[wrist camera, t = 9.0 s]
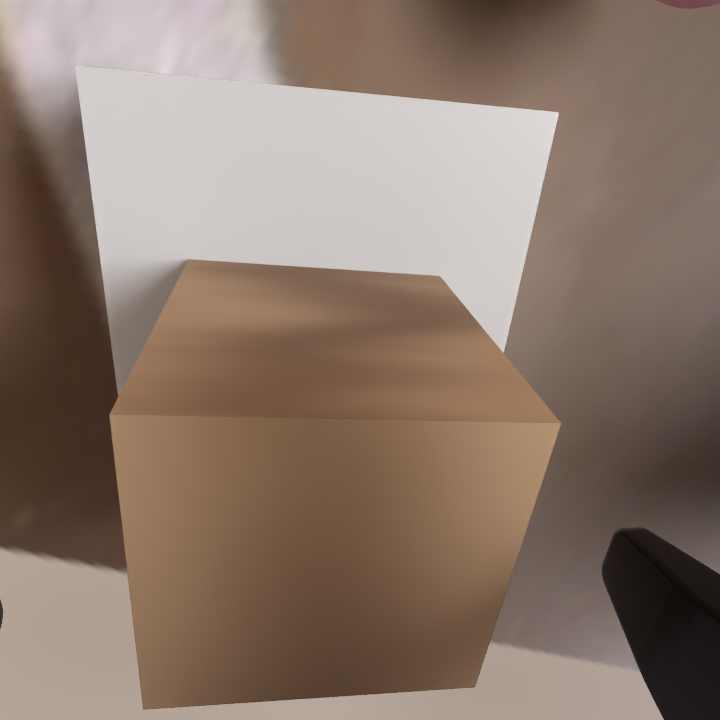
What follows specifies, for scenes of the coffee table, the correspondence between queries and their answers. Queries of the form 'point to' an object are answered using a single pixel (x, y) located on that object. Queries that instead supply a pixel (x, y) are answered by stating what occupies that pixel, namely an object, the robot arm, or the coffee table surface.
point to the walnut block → (320, 485)
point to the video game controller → (690, 3)
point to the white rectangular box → (303, 188)
